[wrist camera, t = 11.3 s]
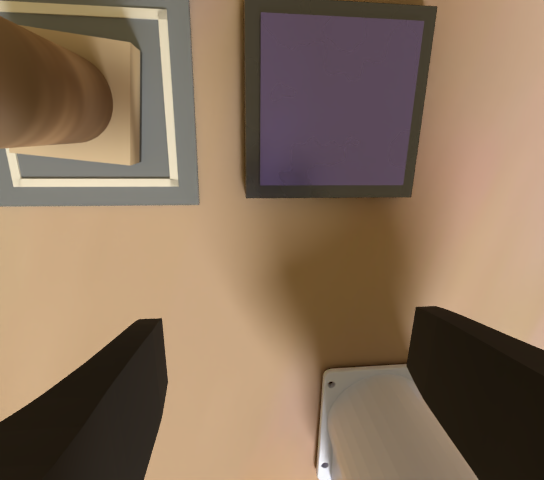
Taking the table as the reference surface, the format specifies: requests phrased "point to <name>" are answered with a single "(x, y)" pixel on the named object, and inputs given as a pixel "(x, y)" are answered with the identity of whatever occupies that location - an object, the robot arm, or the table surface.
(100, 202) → the desk mat
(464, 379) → the robot arm
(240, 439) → the table surface
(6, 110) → the stamp
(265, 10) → the ink pad
